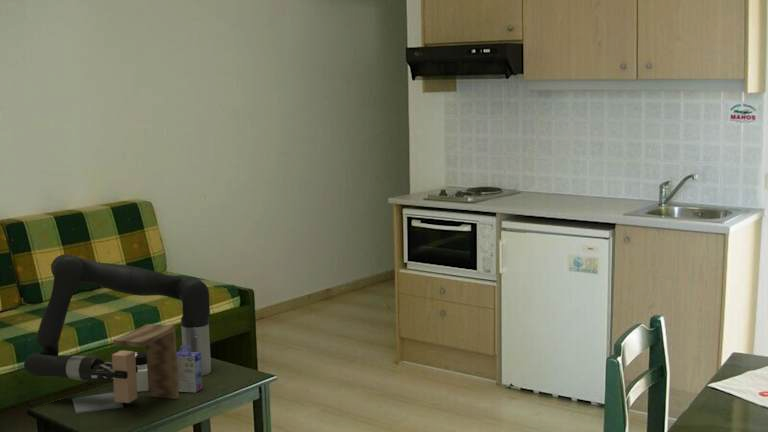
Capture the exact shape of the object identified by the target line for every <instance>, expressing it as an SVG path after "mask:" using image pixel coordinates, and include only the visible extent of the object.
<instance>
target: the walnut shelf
mask: <svg viewBox="0 0 768 432" xmlns="http://www.w3.org/2000/svg"><path fill="white" fill-rule="evenodd" d="M112 341H113V342H112V343H113V344H112V345H113V346H120V347H121V346H123V347H135V348H144V347H145V352H146V355H147V371H148V388H149V391H148V396H149V397H154V398H165V399H175V400H176V399H179V398H180V392H179V389H178V370H177V352H178V351H177V336H176V325H169V324H168V325H167V324H151V323H147V324H144V325H142V326H140V327H138V328H136V329H133V330H131V331H130V332H127V333H126V334H124V335H121V336H118V337H117V338H115V339H113V340H112Z"/></svg>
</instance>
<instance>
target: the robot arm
mask: <svg viewBox="0 0 768 432" xmlns="http://www.w3.org/2000/svg"><path fill="white" fill-rule="evenodd" d="M50 270H51V274H52V275H53V282H52V283H53V284H52V290H51V294H50V298H49V301H48V303H47V306H46V308H45V310H44V313H43V315H42V318H41V321H40V323H39V326H38V331H37V334H36V338H35V343H36V344H37V345H39V346H40V352H39V353H32V354H30V355H28V356H27V357H26V358H25V359H24V362H23V369H24V370H25V372H26V373H28V375H30V376H34V377H59V378H64V379H72V380H77V381H86V382H87V381H88V382H97V381H105V382H106V381H112V380H113V379H116V378H121V379H126V378H128V373H127V372H126V371H116V370H113V366H112V361H111V362H110V361H106V362H104V361H103V359H102V358H101V357H98V356H90V355H89V356H87V355H66V354H64V355H63V354H62V355H59V349H60V348H59V347H60V346H59V342H60V339H61V335H62V333H63V329H64V325H65V321H66V316H67V313H68V311H69V307H70V304H71V301H72V298H73V295H74V294H75V290H76V289H77V286H78V285H79V283H86V284H92V285H96V286H99V287H101V288H102V287H103V288H104V289H107V290H110V291H112V292H113V291H114V292H118V293H120V294H121V293H122V294H126V295H132V296H140V297H148V296H150V297H151V296H163V297H168V298H172V299H175V300H179V301H181V302H182V303H181V304H182V316H181V319H180V326H181V327H180V328H181V340H182V341H181V342H182V345H183V346H191V347H190V352H201V369H202V377H204V376H207V375H209V374H210V373H211V372H212V368H211V367H212V363H211V343H210V342H211V341H210V327H209V326H210V324H209V319H210V314H211V313H210V312H211V311H210V310H211V307H210V304H211V303H210V291H209V288H208V286H207V284H206V283H205V282H203V280H201V279H199V278H197V277H193V276H182V275H170V274H164V273H161V272H158V271H154V270H149V269H146V268H142V267H137V266H131V265H124V264H119V263H118V264H117V263H109V262H108V263H107V262H99V261H94V260H90V259H86V258H83V257H80V256H75V255H74V254H69V253H65V254H64V253H63V254H60V255H58V256H56V257H55V258H54V259H53V260H52V263H51V264H50ZM182 350H188V348H182ZM137 372H138V367H137V366H136V373H137Z"/></svg>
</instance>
